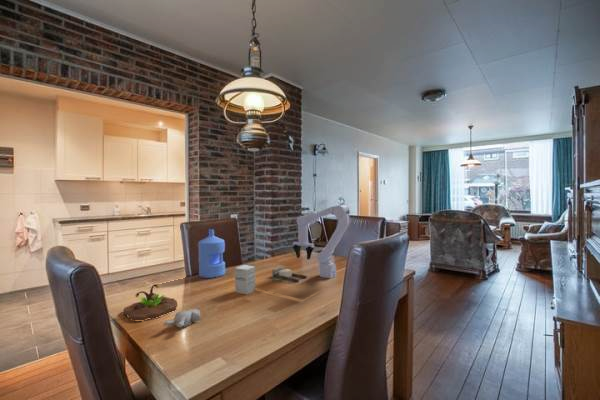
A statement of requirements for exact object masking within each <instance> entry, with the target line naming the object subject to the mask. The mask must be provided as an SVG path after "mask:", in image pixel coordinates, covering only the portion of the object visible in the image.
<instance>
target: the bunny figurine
mask: <svg viewBox="0 0 600 400" xmlns="http://www.w3.org/2000/svg"><path fill="white" fill-rule="evenodd" d="M174 315H175V316H174V318H173V319H170V320H169V319H168V320H165V321H164V322H163V325H162V326H164V327H165V326H169V325H172V324H174V325H175V326H176V327H178V328H184V327H183V326H186V327H189V326H190V325H191V324H192V323H193V322H196V321H200V320H201V311H200V310H199V309H195V308H193V309H192V308H186V310H179V311H177V312H176V313H175V314H174ZM190 323H191V324H190ZM189 324H190V325H189ZM188 325H189V326H188Z"/></svg>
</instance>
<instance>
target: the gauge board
mask: <svg viewBox="0 0 600 400" xmlns="http://www.w3.org/2000/svg"><path fill="white" fill-rule="evenodd" d="M283 269H285V268H284V267H283V266H278V267H274V268H273V269H272V270H271V271H272V273H271V274H272V275H270V276H268V277H266V279H267V280H272V281H277V282H281V283H287V284H291V285H296V286H298V285H300V284H302V283H304V282H307V281H309V280H311V278H309V277H308V275H305V274H301V273H294V272H292V276H291V277H286V276H281V275H279V274H276V273H279V271H280V270H283ZM274 274H276V275H274Z"/></svg>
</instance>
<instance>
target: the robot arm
mask: <svg viewBox="0 0 600 400" xmlns="http://www.w3.org/2000/svg"><path fill="white" fill-rule="evenodd" d="M350 214H351V211H350V207H348V205H346V204H339V205H334V206H329V207H328V208H325V209H323V210H320V211H318V212H317V211H313V210H312V211H310V212H309V213H307V214H306V213H305V214H303V215H300V216H298V217H296V224H297V226H298V227H297V229H298V231H297V234H298V236H297V237H298V238H297V239H298V241H293V242H292V246H293V247H292V248H293V250H294V252H295V255H296V258H297V259H298V258H301V247H305V251H306V260H311V256H312V253H313V251H314V249H315V243H311V242H309V232H308V231H309V230H308V226H309V224H313V223H314V222H317V221H319V219H320V218H321V217H325V216H328V215H332V216H333V215H334V216H335V218H336V219H337V222H338V225H337V226H336V228H335V230H334V231H333V232H332V235H331V237H330V238H329V240H328V242H327V243H326V246H324V247H323V249H322V250H321V251H320V252H319V253H317V256H316V258H317V261H318V276H319V277H320V278H326V279H327V278H328V279H333V278H335V277H337V265H336V263H333V262H332V258H333V257H334V253H335V249H336V247H337V245H338V244H339V242H340V240H341V239H342V237H343V235H344V234H345V232H346V230H347V229H348V227H349V225H350Z"/></svg>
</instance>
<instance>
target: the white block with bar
mask: <svg viewBox="0 0 600 400" xmlns="http://www.w3.org/2000/svg"><path fill="white" fill-rule="evenodd" d="M292 273H293V270H292V269H287V268H284V269H283V270H280V271H279V273H276V274H279V275H281V276H286V277H291V276H292ZM276 274H274V275H276Z"/></svg>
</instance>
